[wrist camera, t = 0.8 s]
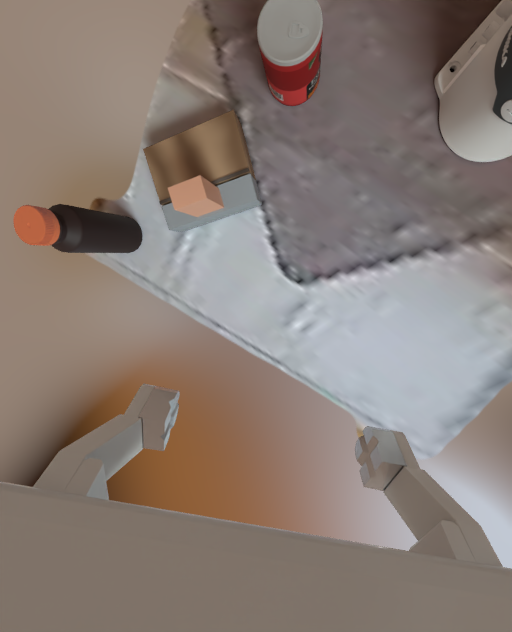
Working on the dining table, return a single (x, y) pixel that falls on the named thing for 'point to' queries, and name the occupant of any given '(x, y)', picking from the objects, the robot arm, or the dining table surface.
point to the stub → (208, 201)
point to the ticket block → (200, 155)
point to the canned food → (291, 48)
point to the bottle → (77, 229)
